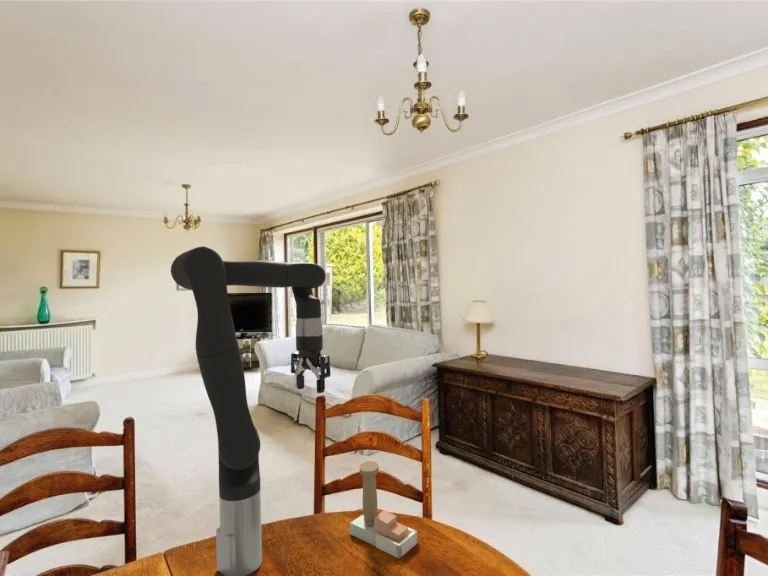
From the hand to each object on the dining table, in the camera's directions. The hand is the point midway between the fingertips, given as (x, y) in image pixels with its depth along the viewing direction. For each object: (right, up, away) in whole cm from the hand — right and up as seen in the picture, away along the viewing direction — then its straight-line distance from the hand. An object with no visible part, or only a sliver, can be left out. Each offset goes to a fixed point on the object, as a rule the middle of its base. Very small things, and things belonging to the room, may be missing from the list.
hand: (310, 390), depth 118 cm
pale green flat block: (+17, -36, -9) cm, 41 cm away
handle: (+17, -33, -10) cm, 38 cm away
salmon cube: (+23, -33, -14) cm, 42 cm away
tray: (+24, -35, -14) cm, 45 cm away
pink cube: (+21, -32, -13) cm, 41 cm away
